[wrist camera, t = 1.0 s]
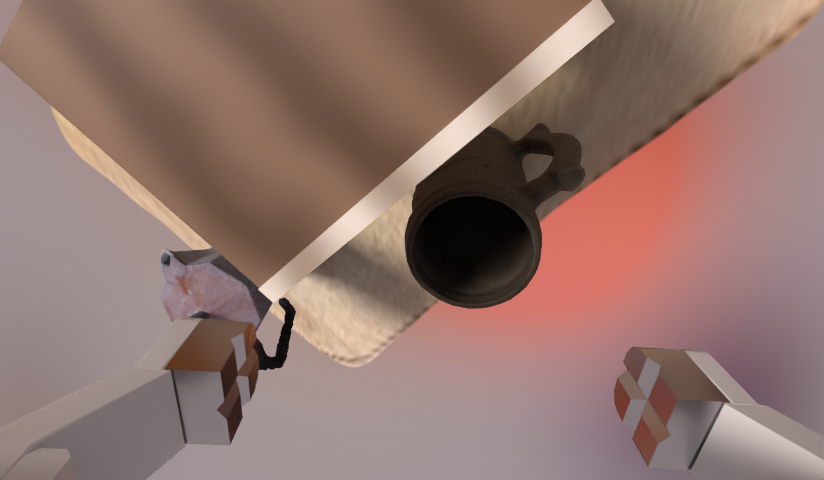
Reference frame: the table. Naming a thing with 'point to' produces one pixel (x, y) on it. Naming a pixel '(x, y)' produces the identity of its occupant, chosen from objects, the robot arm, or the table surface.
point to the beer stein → (486, 216)
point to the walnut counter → (288, 103)
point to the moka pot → (219, 296)
